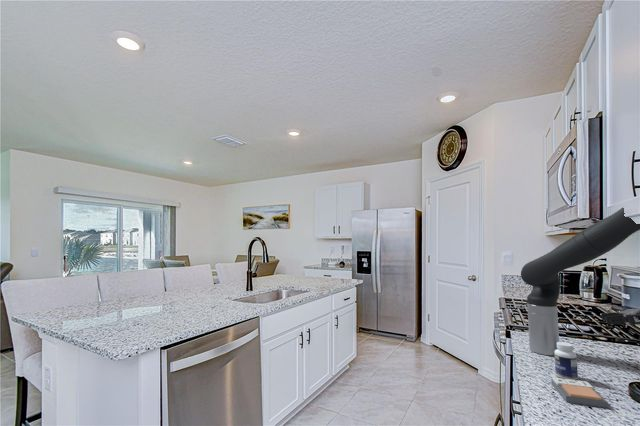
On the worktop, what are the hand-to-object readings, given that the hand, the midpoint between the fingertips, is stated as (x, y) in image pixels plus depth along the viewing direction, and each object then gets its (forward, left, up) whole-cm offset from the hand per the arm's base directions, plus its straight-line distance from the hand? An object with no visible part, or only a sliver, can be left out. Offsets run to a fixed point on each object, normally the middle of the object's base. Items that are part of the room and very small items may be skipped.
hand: (604, 319), depth 94 cm
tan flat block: (+12, -11, -18) cm, 24 cm away
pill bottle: (-1, -10, -18) cm, 21 cm away
